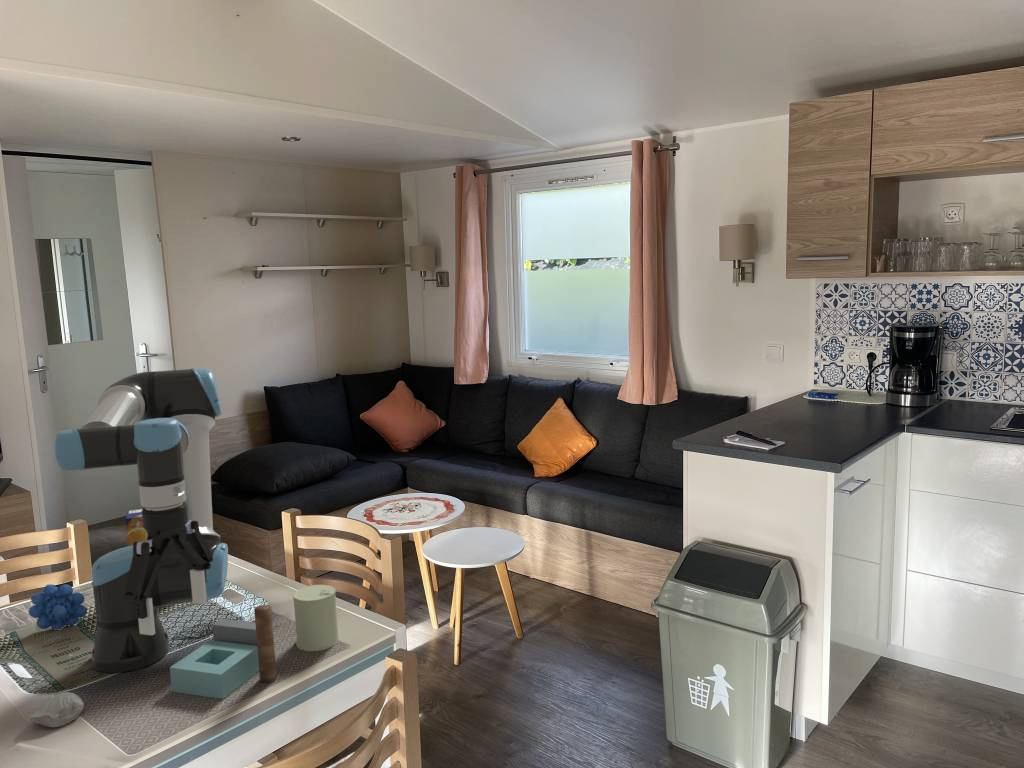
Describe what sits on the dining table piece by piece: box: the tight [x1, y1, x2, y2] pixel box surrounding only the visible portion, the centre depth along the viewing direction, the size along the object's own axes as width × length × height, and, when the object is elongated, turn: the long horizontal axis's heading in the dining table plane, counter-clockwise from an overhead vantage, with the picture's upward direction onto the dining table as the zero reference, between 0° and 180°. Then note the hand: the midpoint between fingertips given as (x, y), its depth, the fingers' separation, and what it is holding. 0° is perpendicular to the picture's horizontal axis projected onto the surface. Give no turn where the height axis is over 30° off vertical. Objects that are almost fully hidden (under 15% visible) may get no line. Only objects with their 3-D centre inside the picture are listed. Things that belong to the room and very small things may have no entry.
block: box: [169, 639, 259, 700], centre depth 157 cm, size 12×12×5 cm
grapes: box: [28, 584, 88, 630], centre depth 181 cm, size 12×7×12 cm, turn 126°
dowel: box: [253, 604, 278, 684], centre depth 156 cm, size 3×3×15 cm
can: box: [292, 584, 340, 652], centre depth 172 cm, size 9×9×12 cm
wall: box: [212, 618, 257, 646], centre depth 165 cm, size 12×3×8 cm, turn 73°
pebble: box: [28, 691, 85, 728], centre depth 144 cm, size 9×8×5 cm
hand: (175, 617), depth 143 cm, fingers open, 13 cm apart
